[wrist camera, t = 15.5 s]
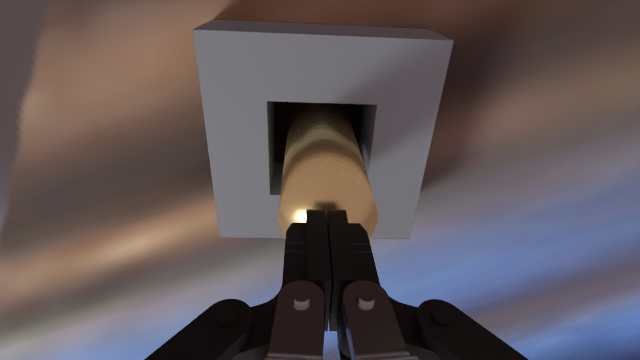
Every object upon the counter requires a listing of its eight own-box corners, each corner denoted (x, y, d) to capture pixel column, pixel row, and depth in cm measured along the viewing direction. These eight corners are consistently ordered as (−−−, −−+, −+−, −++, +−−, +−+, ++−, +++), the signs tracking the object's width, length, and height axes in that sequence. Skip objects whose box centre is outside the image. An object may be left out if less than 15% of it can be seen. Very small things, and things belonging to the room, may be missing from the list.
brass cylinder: (353, 96, 22) (384, 177, 13) (347, 154, 24) (371, 257, 15) (288, 94, 22) (277, 175, 13) (288, 153, 24) (278, 257, 15)
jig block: (428, 28, 20) (453, 40, 16) (395, 203, 26) (409, 239, 23) (212, 19, 19) (192, 29, 16) (231, 201, 25) (219, 237, 22)
